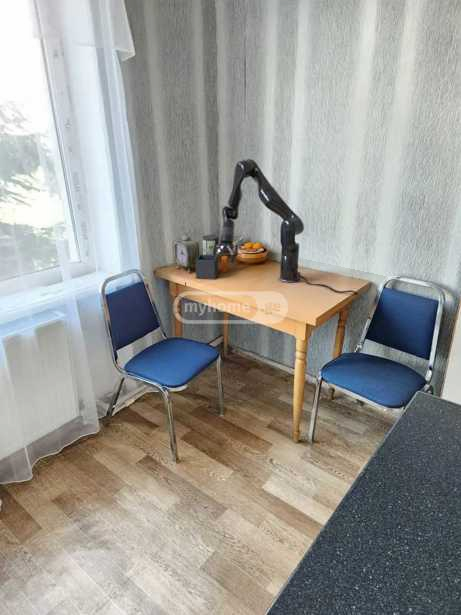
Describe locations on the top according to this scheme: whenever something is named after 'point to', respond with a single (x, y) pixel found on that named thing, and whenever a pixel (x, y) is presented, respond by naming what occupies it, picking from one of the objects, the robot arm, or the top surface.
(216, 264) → the bin
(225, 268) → the packet
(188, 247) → the tabletop clock
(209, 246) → the lantern
